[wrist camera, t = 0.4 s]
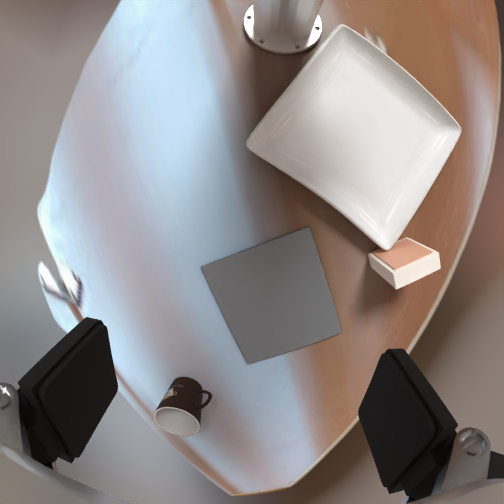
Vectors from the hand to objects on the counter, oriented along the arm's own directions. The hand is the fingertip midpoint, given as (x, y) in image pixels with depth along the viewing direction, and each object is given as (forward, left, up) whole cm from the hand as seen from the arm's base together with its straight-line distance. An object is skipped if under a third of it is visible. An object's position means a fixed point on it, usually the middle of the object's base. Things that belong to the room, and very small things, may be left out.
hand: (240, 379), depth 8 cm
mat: (+14, -2, -35) cm, 38 cm away
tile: (+13, +19, -35) cm, 42 cm away
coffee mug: (+27, -24, -36) cm, 51 cm away
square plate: (-7, +21, -36) cm, 42 cm away
